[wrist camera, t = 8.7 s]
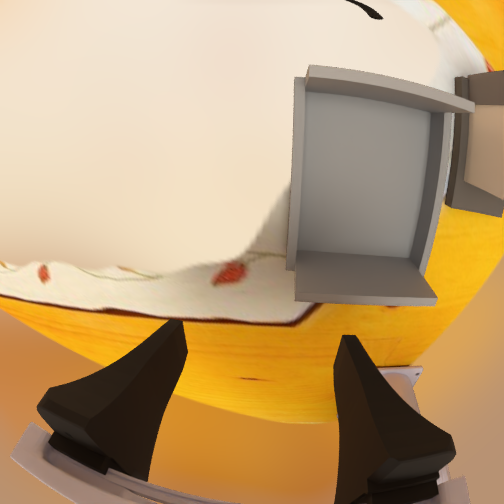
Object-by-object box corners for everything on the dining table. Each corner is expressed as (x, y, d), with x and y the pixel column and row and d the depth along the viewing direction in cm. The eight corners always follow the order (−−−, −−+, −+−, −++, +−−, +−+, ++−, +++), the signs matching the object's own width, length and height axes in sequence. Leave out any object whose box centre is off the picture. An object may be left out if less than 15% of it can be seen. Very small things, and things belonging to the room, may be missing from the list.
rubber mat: (495, 213, 17) (501, 217, 16) (445, 203, 17) (451, 207, 16) (506, 101, 12) (513, 101, 12) (454, 77, 13) (461, 76, 12)
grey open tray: (411, 262, 20) (442, 306, 14) (286, 253, 21) (283, 300, 16) (434, 106, 15) (482, 105, 9) (294, 83, 16) (295, 63, 10)
